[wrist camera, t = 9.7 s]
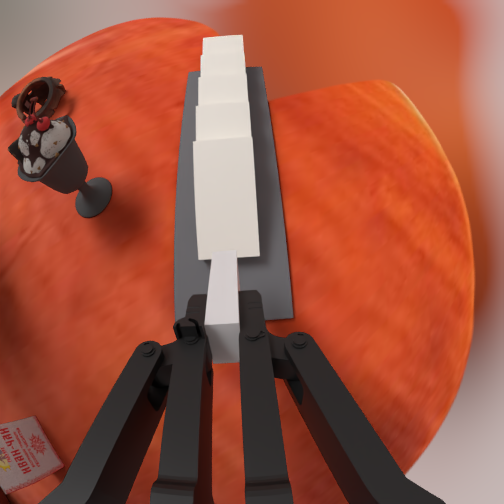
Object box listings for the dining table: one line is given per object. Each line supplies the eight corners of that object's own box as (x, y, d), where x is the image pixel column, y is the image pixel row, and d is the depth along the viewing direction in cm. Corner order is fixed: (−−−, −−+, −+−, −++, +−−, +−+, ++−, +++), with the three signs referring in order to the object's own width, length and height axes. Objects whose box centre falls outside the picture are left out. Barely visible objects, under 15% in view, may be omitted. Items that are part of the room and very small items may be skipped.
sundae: (130, 184, 27) (61, 83, 12) (93, 235, 25) (-4, 160, 11) (95, 163, 28) (31, 76, 13) (61, 209, 26) (-21, 138, 12)
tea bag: (49, 469, 17) (-1, 494, 8) (21, 421, 19) (-34, 434, 9) (64, 466, 18) (13, 494, 8) (35, 415, 19) (-24, 429, 10)
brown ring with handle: (81, 84, 34) (64, 66, 26) (69, 135, 35) (48, 125, 27) (29, 90, 31) (8, 77, 23) (17, 138, 32) (-7, 132, 24)
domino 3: (199, 164, 25) (198, 77, 24) (201, 168, 27) (200, 84, 26) (252, 160, 25) (246, 73, 24) (251, 164, 27) (246, 80, 26)
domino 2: (200, 129, 26) (200, 55, 26) (202, 133, 28) (202, 62, 27) (249, 125, 27) (244, 51, 26) (248, 130, 28) (244, 59, 27)
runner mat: (176, 324, 23) (175, 324, 23) (189, 74, 32) (188, 72, 31) (292, 318, 23) (293, 317, 23) (261, 69, 32) (261, 66, 32)
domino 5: (198, 259, 23) (193, 141, 22) (201, 258, 24) (196, 146, 23) (259, 256, 23) (252, 136, 22) (258, 254, 24) (251, 142, 24)
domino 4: (198, 209, 24) (195, 106, 23) (201, 210, 25) (198, 112, 25) (255, 205, 24) (249, 101, 23) (255, 207, 26) (248, 108, 25)
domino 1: (202, 100, 28) (203, 38, 27) (204, 105, 29) (204, 44, 28) (246, 96, 28) (242, 34, 27) (246, 102, 29) (242, 41, 28)
